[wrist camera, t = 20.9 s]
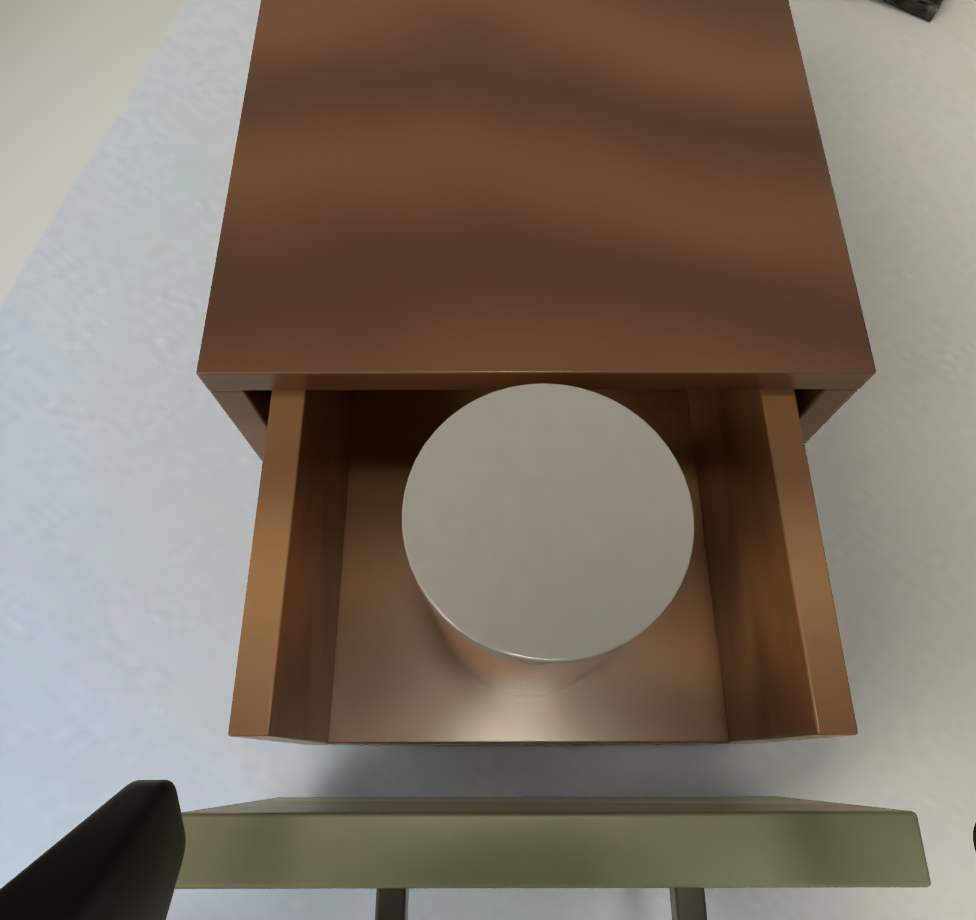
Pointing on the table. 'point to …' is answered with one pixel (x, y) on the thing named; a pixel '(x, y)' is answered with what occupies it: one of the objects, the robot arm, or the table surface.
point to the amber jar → (545, 533)
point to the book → (919, 7)
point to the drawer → (551, 718)
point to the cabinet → (530, 206)
